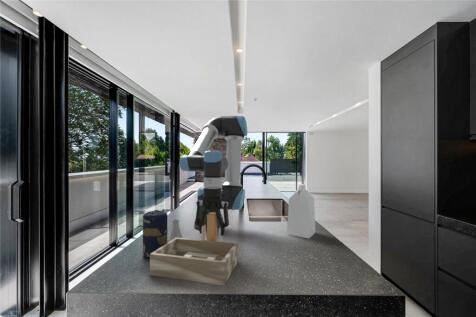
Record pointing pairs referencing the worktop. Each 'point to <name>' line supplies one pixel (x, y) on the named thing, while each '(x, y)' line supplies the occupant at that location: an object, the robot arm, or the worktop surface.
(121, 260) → the worktop surface
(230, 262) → the open box
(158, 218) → the canister
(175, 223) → the flask
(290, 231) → the milk
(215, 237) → the peg
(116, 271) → the worktop surface
